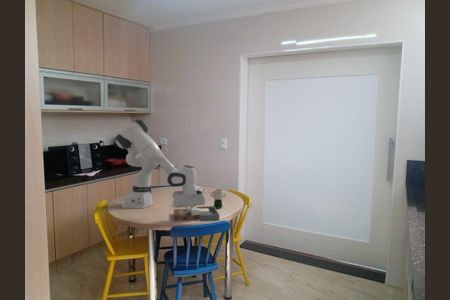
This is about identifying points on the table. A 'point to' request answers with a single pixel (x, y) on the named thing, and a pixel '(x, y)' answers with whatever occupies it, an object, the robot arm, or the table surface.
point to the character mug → (218, 197)
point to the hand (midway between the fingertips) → (189, 212)
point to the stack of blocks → (200, 188)
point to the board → (184, 215)
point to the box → (212, 214)
